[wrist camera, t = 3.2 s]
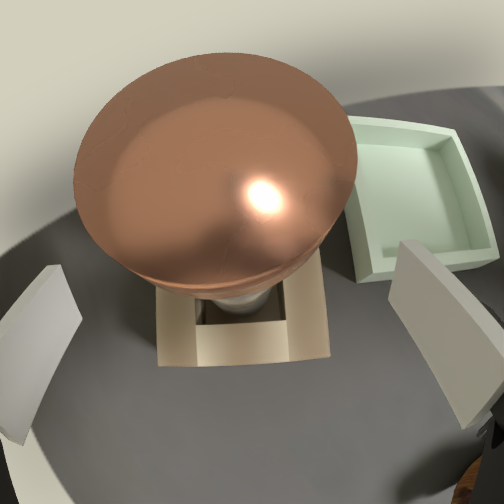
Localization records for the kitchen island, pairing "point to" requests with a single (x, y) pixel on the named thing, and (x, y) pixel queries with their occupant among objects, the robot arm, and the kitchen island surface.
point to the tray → (414, 199)
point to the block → (247, 325)
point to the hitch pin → (216, 176)
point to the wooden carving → (466, 484)
